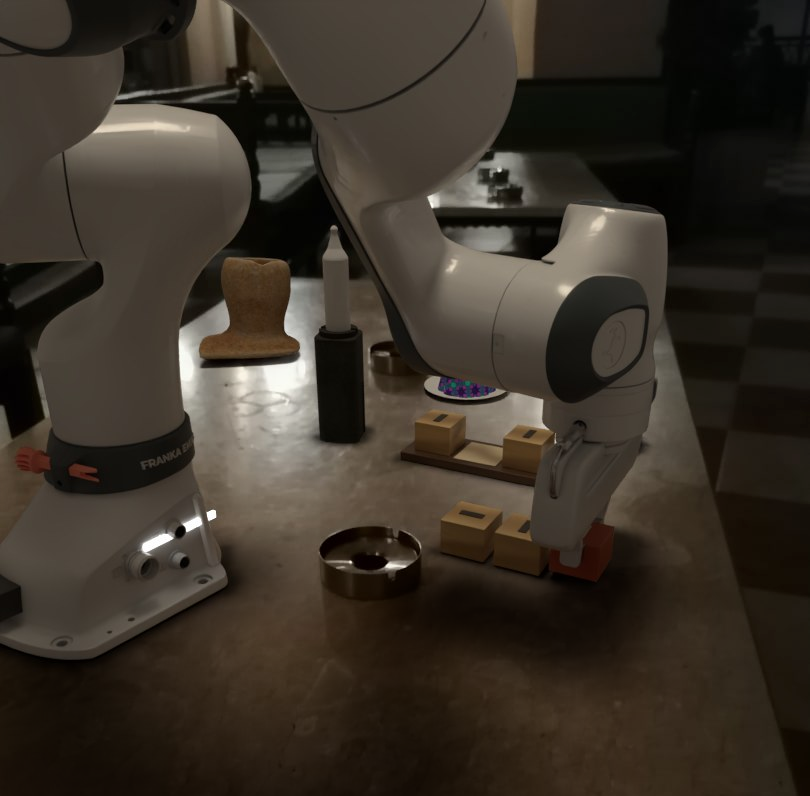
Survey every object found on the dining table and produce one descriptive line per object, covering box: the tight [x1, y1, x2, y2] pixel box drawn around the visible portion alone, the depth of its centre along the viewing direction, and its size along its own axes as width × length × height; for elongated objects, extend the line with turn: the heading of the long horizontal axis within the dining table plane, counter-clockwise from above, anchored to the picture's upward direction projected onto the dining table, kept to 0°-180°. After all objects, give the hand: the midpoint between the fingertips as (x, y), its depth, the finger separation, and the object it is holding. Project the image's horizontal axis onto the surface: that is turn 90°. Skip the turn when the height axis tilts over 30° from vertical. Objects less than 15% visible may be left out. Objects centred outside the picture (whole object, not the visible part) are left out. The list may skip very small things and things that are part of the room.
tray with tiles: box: [400, 409, 556, 487], centre depth 104 cm, size 7×18×5 cm, turn 62°
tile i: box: [439, 500, 504, 563], centre depth 87 cm, size 4×4×4 cm
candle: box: [313, 225, 366, 444], centre depth 107 cm, size 5×5×25 cm
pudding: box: [423, 376, 507, 401], centre depth 126 cm, size 12×12×5 cm
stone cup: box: [198, 256, 301, 360], centre depth 139 cm, size 15×12×15 cm
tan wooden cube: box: [493, 512, 550, 577], centre depth 84 cm, size 4×4×4 cm
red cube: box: [548, 522, 615, 583], centre depth 82 cm, size 4×4×4 cm
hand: (581, 548), depth 82 cm, fingers closed on red cube, 4 cm apart
